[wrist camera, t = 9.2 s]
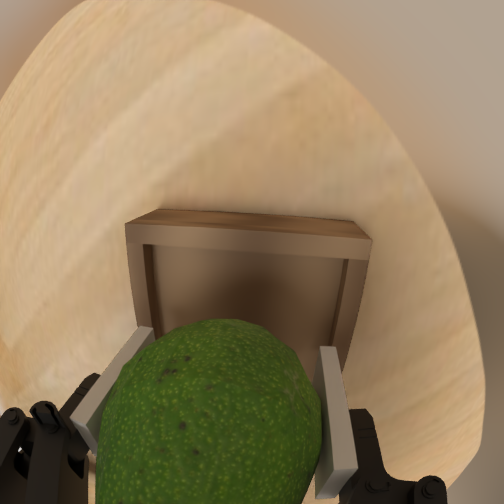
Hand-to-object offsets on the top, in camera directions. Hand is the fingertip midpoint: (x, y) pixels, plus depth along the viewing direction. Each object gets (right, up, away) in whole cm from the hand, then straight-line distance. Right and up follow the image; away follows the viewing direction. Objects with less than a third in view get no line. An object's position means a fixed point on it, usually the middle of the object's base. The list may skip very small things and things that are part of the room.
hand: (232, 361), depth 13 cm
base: (+1, +2, +5) cm, 6 cm away
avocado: (0, 0, +1) cm, 1 cm away
